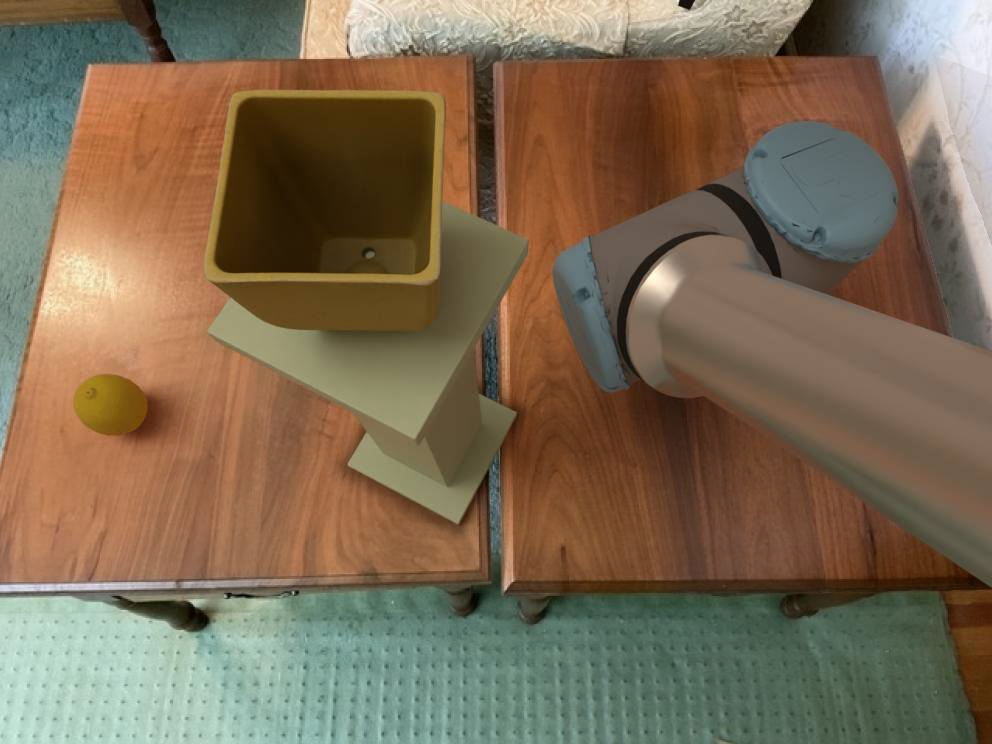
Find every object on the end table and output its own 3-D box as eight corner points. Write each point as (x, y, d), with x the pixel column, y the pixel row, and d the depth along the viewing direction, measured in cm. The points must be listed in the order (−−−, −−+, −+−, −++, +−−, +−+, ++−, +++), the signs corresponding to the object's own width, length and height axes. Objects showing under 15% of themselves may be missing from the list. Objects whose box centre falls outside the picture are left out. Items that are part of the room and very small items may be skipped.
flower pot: (459, 209, 37) (446, 87, 28) (455, 365, 34) (439, 281, 25) (293, 209, 37) (230, 87, 28) (275, 364, 34) (199, 281, 25)
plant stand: (517, 415, 68) (529, 239, 36) (458, 525, 65) (415, 440, 33) (411, 362, 70) (333, 150, 38) (348, 466, 67) (205, 331, 35)
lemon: (102, 446, 68) (51, 425, 60) (108, 391, 69) (60, 364, 62) (159, 442, 68) (116, 420, 60) (164, 388, 69) (122, 360, 62)
